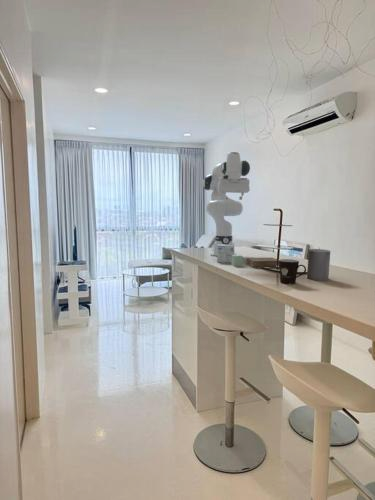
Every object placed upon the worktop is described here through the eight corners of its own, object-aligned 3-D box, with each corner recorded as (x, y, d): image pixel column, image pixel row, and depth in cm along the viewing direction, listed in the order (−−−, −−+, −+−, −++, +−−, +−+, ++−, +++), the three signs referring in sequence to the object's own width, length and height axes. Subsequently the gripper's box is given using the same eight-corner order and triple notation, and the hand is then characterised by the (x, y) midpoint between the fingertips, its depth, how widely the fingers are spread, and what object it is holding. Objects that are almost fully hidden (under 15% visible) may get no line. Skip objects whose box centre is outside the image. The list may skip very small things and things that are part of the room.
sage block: (231, 265, 200) (231, 254, 200) (239, 265, 201) (240, 254, 200) (233, 266, 196) (234, 256, 195) (242, 266, 196) (242, 256, 196)
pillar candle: (303, 276, 166) (305, 246, 164) (322, 276, 167) (324, 246, 165) (312, 281, 157) (314, 248, 155) (332, 280, 157) (334, 248, 156)
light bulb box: (233, 261, 215) (234, 244, 214) (234, 262, 209) (234, 245, 208) (216, 260, 217) (217, 244, 215) (216, 262, 210) (217, 245, 209)
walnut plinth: (246, 264, 203) (246, 257, 203) (272, 264, 205) (272, 257, 205) (253, 268, 189) (254, 261, 189) (281, 267, 192) (281, 260, 191)
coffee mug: (273, 281, 154) (274, 259, 153) (289, 280, 157) (290, 258, 156) (290, 286, 144) (291, 263, 142) (306, 285, 147) (308, 262, 145)
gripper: (247, 179, 220) (247, 200, 220) (216, 178, 217) (216, 199, 218) (251, 177, 214) (251, 199, 214) (219, 176, 211) (219, 198, 211)
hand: (233, 199), depth 216 cm, fingers open, 8 cm apart
